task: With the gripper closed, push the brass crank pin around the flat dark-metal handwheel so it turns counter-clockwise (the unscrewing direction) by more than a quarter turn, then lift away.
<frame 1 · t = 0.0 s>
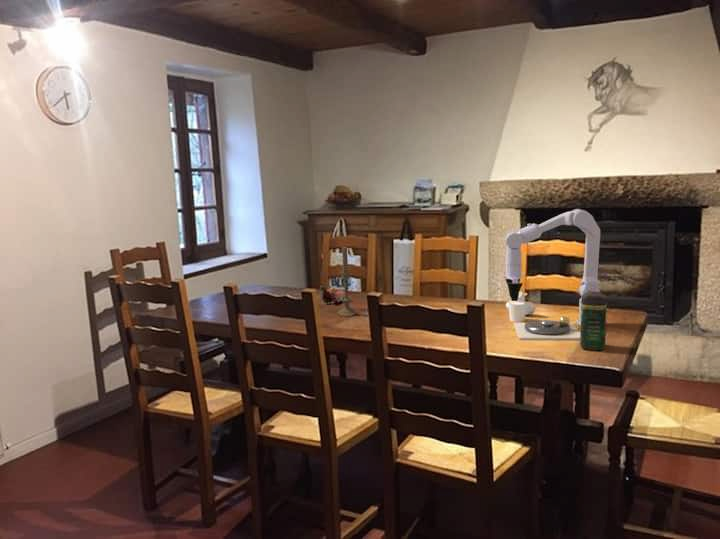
hand: (513, 298, 240), 10 cm above the table, fingers open, 7 cm apart
bust: (520, 315, 256), on the table
white cylinder: (517, 320, 248), on the table
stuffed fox: (333, 303, 296), on the table
handwheel: (547, 323, 227), point 3 cm above the table, hinge at 0.0°
wheel base: (547, 332, 228), on the table
coffee jar: (592, 347, 206), on the table
candlestick holder: (347, 314, 270), on the table
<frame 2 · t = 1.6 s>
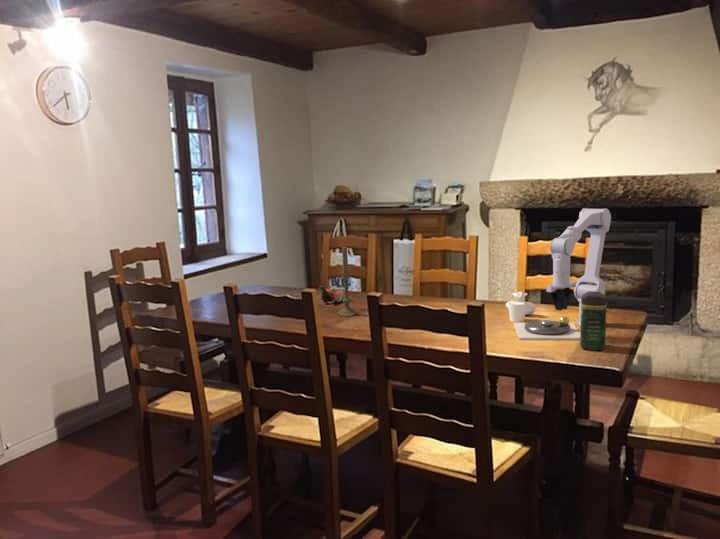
hand: (561, 309, 222), 9 cm above the table, fingers closed
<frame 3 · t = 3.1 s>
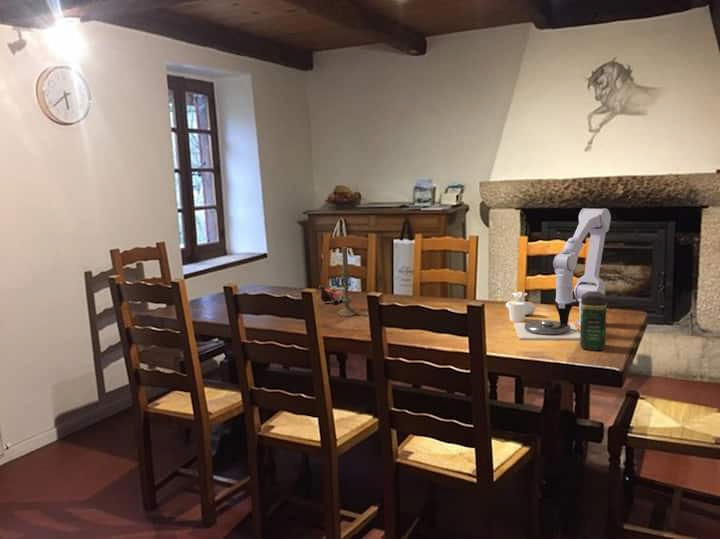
hand: (563, 324, 225), 3 cm above the table, fingers closed
handwheel: (547, 323, 227), point 3 cm above the table, hinge at 3.1°, touching gripper
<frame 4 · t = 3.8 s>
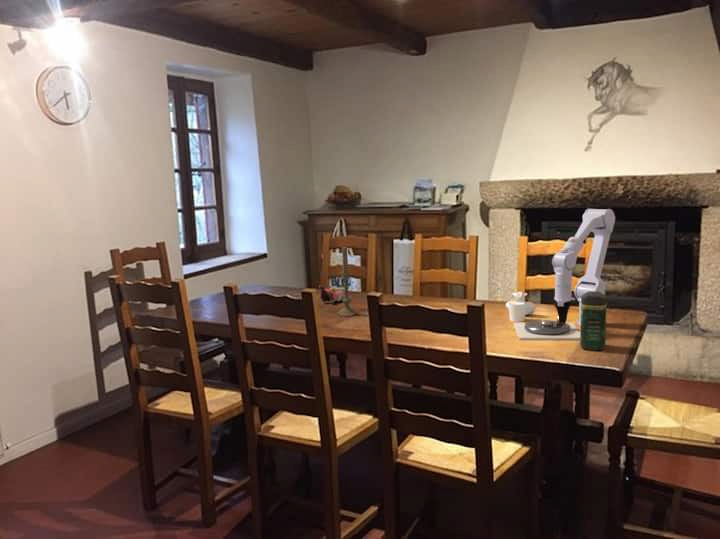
hand: (562, 322, 227), 4 cm above the table, fingers closed, pressing on handwheel
handwheel: (547, 323, 227), point 3 cm above the table, hinge at 27.6°, touching gripper
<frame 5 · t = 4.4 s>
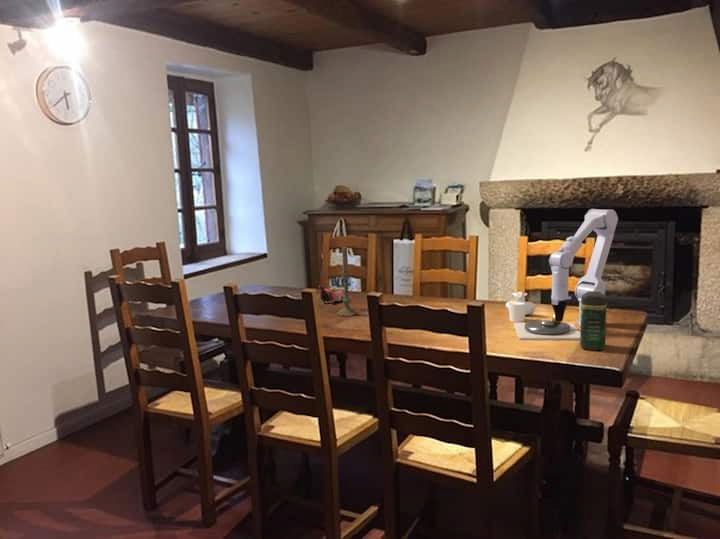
hand: (559, 320, 229), 4 cm above the table, fingers closed, pressing on handwheel
handwheel: (547, 323, 227), point 3 cm above the table, hinge at 49.1°, touching gripper
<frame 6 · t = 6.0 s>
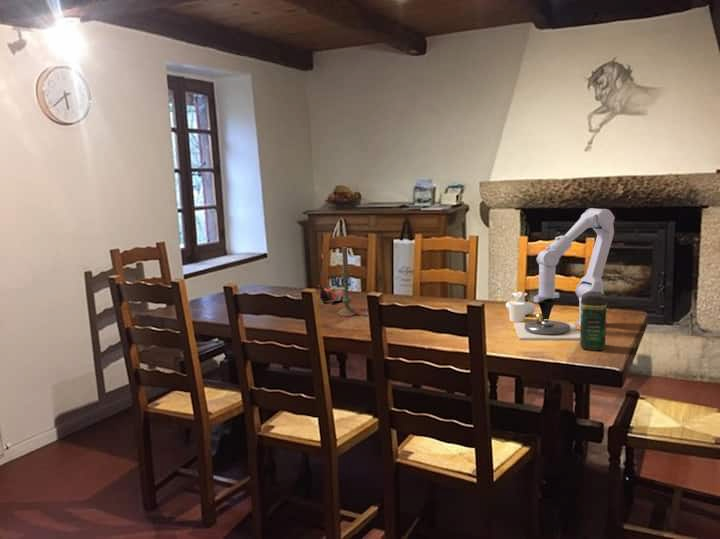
hand: (546, 318, 232), 4 cm above the table, fingers closed, pressing on handwheel
handwheel: (547, 323, 227), point 3 cm above the table, hinge at 106.8°, touching gripper
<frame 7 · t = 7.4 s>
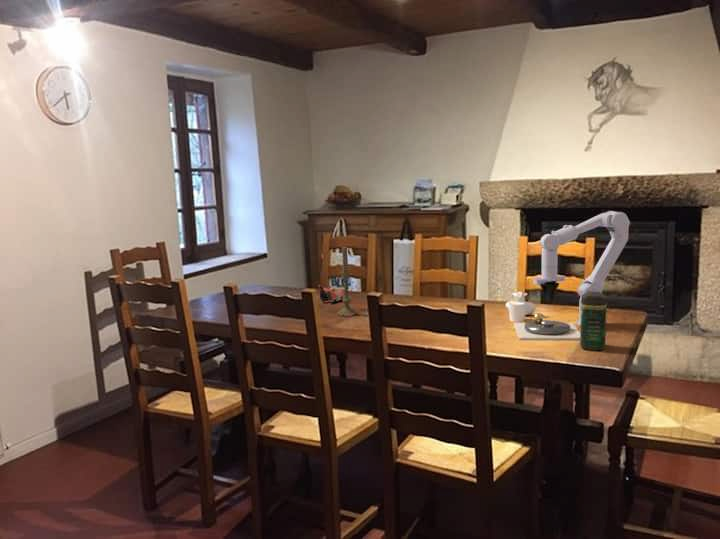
hand: (549, 301, 236), 9 cm above the table, fingers closed
handwheel: (547, 323, 227), point 3 cm above the table, hinge at 113.6°
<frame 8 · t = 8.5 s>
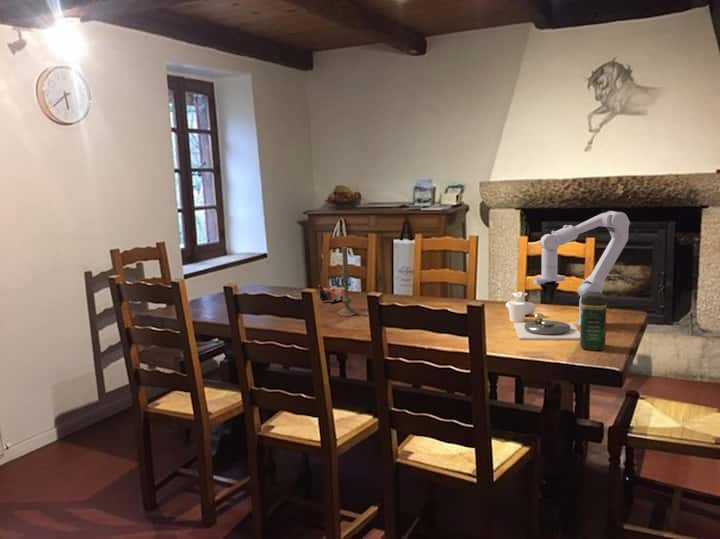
hand: (549, 301, 236), 9 cm above the table, fingers closed
at the end: handwheel at +114° (first picture: +0°); white cylinder moved 0.2 cm from its start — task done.
